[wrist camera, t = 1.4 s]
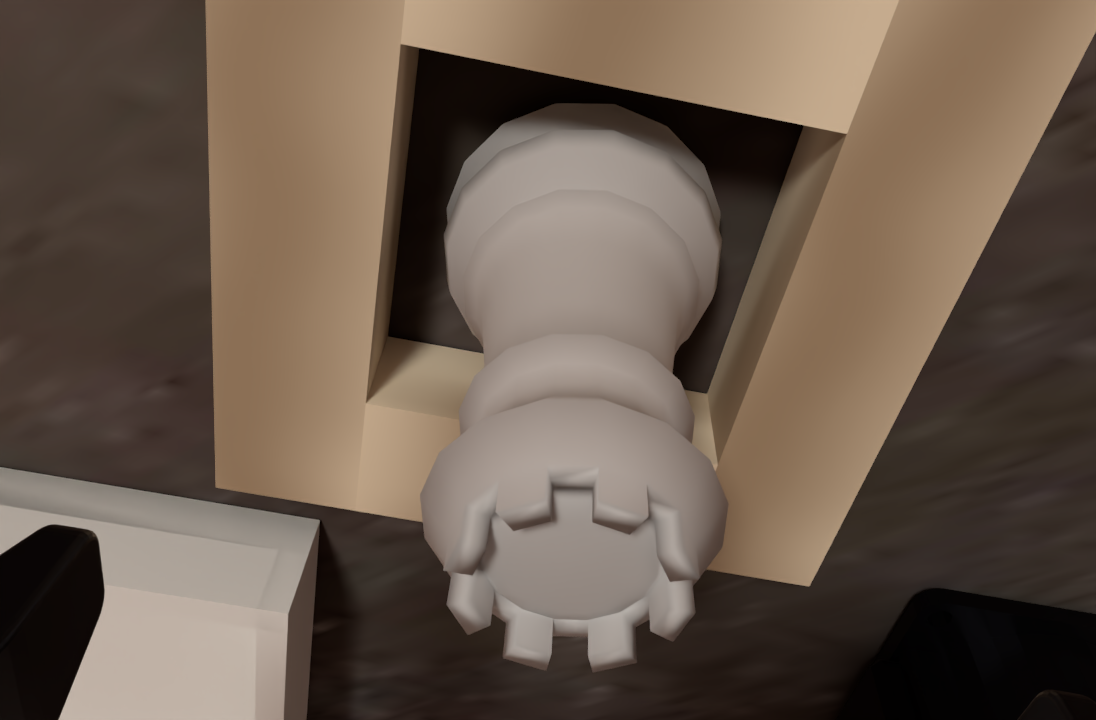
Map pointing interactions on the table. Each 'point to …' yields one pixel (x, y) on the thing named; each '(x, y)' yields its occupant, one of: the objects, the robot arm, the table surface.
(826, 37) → the socket block
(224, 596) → the tray
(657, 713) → the table surface
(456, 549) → the rook chess piece
